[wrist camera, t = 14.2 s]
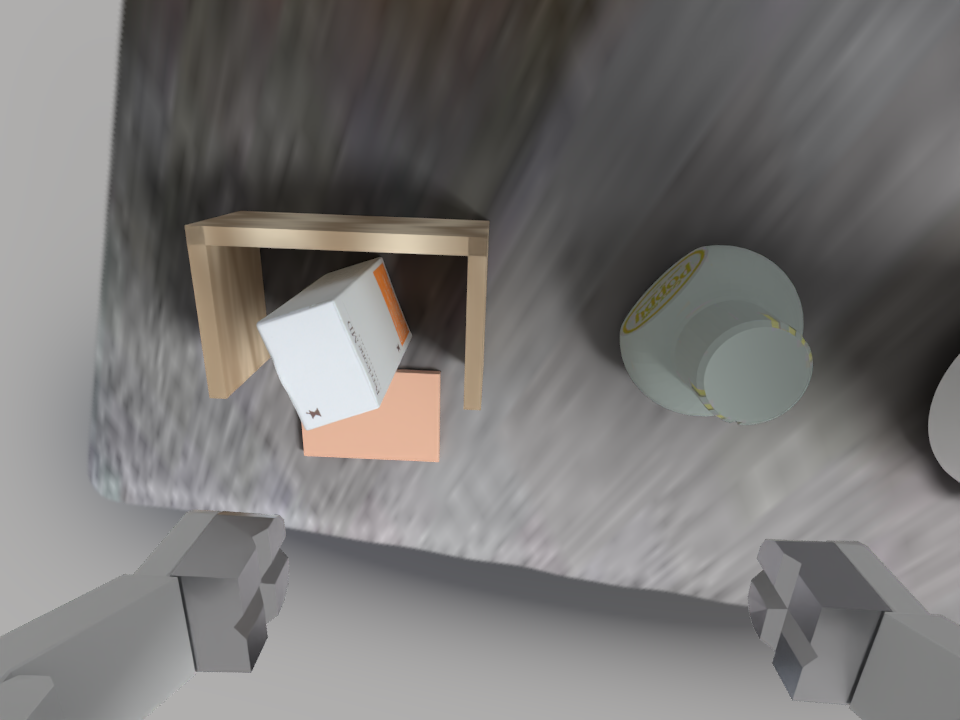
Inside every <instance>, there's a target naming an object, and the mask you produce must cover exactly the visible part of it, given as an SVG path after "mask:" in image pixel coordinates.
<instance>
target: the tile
mask: <svg viewBox="0 0 960 720" xmlns="http://www.w3.org/2000/svg"><path fill="white" fill-rule="evenodd" d="M440 384H441V371H426V370H403V369H397V370H396V372H395V374H394V377H393V379H392V381H391V383H390V385H389V387H388V390H387V392H386V394H385V396H384V398H383V400H382V403H381V405H380V407H379V408H378V409H375V410H371V411H368V412H365V413H362V414H358V415H355V416H352V417H349V418H346V419H342V420H339V421H336V422H333V423H330V424H327V425H324V426H321V427H317V428H314V429H311V430H306V429H305V428H304V426H303V424H302V422H301V424H302V435H303V447H304V456H320V457H342V458H364V459H385V460H407V461H429V462H439V458H440Z"/></svg>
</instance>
